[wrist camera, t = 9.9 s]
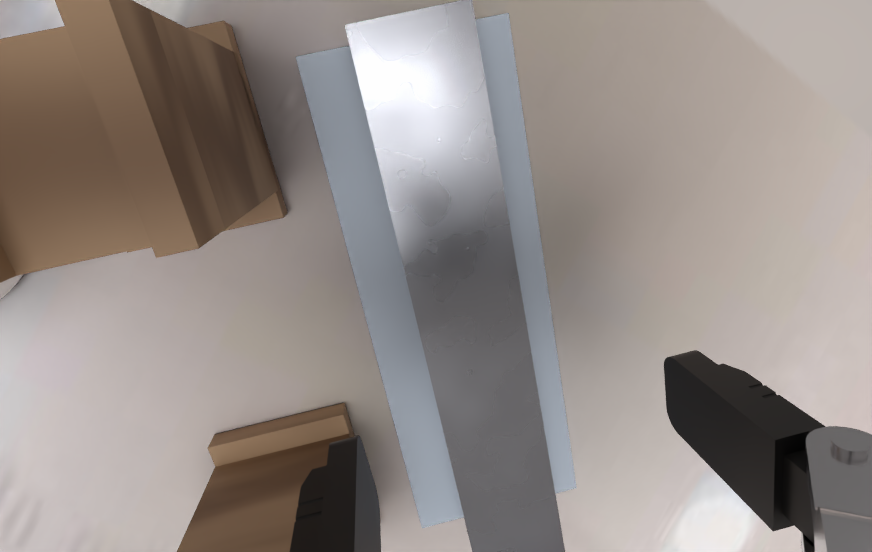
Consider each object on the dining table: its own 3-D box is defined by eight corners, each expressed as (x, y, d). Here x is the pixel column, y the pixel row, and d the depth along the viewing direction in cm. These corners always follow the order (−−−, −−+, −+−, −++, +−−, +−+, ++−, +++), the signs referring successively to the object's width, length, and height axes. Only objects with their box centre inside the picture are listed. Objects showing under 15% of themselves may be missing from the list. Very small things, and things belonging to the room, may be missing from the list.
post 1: (63, 59, 18) (-281, -10, 8) (231, 25, 18) (80, -77, 9) (138, 246, 20) (-69, 356, 11) (287, 213, 20) (215, 292, 11)
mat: (297, 58, 19) (295, 56, 18) (504, 16, 19) (508, 12, 19) (421, 519, 26) (422, 528, 25) (572, 479, 26) (576, 487, 26)
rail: (350, 44, 18) (344, 24, 15) (451, 23, 19) (471, -3, 15) (464, 516, 25) (481, 586, 21) (537, 497, 25) (566, 563, 22)
